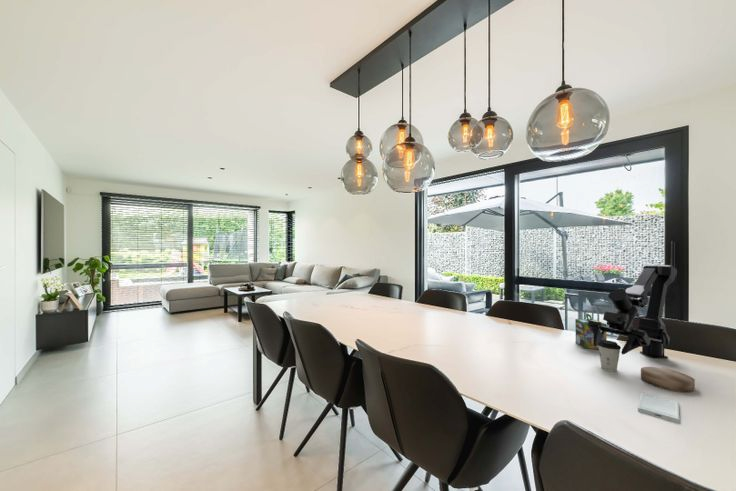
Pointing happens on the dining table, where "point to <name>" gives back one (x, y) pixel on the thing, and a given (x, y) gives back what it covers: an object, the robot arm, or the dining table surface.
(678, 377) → the podium
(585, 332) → the chalk box
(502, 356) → the dining table surface
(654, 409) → the hard drive
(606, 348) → the coffee cup
